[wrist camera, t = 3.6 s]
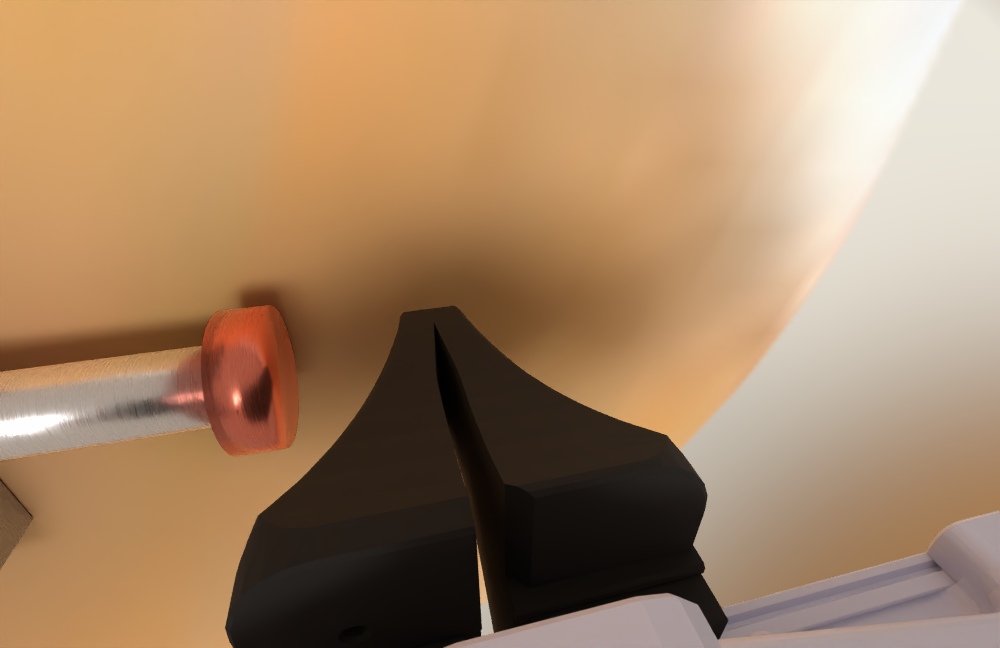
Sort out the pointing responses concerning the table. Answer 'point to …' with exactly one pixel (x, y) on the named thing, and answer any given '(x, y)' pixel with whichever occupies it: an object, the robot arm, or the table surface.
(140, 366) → the pin
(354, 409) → the table surface
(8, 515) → the block
